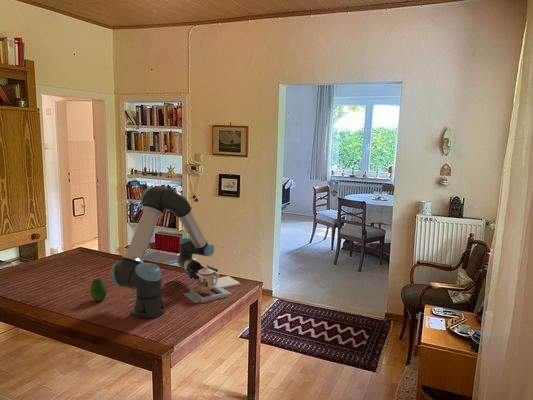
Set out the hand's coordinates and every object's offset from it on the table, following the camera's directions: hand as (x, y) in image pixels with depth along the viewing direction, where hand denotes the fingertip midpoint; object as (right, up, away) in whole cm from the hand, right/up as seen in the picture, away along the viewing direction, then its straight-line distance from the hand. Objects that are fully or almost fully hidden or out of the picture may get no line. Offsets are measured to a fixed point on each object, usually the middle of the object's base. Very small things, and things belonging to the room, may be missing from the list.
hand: (210, 277), depth 214 cm
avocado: (-57, -11, -6) cm, 59 cm away
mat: (+5, -8, +22) cm, 24 cm away
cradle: (-2, -10, +4) cm, 11 cm away
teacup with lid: (-2, -7, +5) cm, 9 cm away
